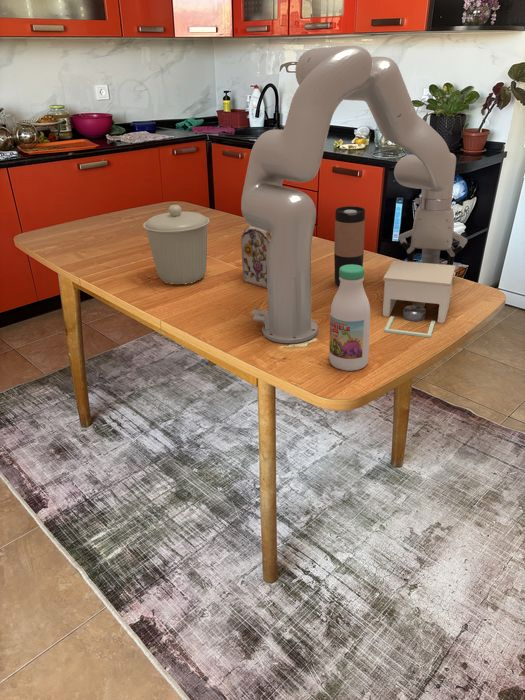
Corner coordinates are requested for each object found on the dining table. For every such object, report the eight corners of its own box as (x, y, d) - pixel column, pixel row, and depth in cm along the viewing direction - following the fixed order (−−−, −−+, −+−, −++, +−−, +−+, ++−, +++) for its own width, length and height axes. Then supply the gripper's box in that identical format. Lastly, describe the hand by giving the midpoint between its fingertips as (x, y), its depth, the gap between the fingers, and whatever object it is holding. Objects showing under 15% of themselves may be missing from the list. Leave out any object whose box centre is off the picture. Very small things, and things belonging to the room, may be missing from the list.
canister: (181, 265, 171) (173, 195, 162) (227, 274, 162) (221, 201, 152) (137, 283, 159) (126, 208, 149) (184, 295, 149) (175, 216, 139)
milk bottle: (342, 350, 117) (345, 258, 108) (375, 360, 113) (380, 265, 104) (321, 364, 112) (322, 269, 103) (355, 375, 108) (359, 277, 98)
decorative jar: (273, 291, 149) (270, 224, 141) (241, 282, 156) (238, 217, 148) (301, 278, 157) (300, 214, 148) (270, 270, 164) (268, 208, 156)
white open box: (381, 316, 132) (383, 277, 127) (390, 296, 142) (393, 260, 138) (445, 323, 127) (450, 283, 122) (451, 303, 137) (455, 265, 132)
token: (402, 321, 129) (402, 313, 128) (403, 312, 133) (403, 304, 133) (424, 322, 128) (425, 314, 127) (425, 313, 132) (425, 305, 131)
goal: (384, 331, 124) (384, 329, 124) (390, 318, 131) (390, 316, 130) (430, 337, 121) (430, 335, 120) (434, 323, 127) (435, 321, 127)
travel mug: (345, 276, 156) (347, 204, 147) (368, 282, 151) (371, 208, 142) (328, 284, 152) (328, 210, 142) (350, 291, 147) (353, 214, 137)
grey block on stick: (409, 306, 137) (412, 267, 132) (422, 274, 155) (425, 239, 150) (426, 308, 135) (430, 269, 131) (437, 276, 154) (441, 240, 149)
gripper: (398, 205, 142) (394, 269, 150) (470, 208, 136) (462, 275, 144) (403, 199, 148) (399, 261, 156) (472, 201, 142) (464, 266, 150)
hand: (429, 268), depth 150 cm, fingers open, 9 cm apart
